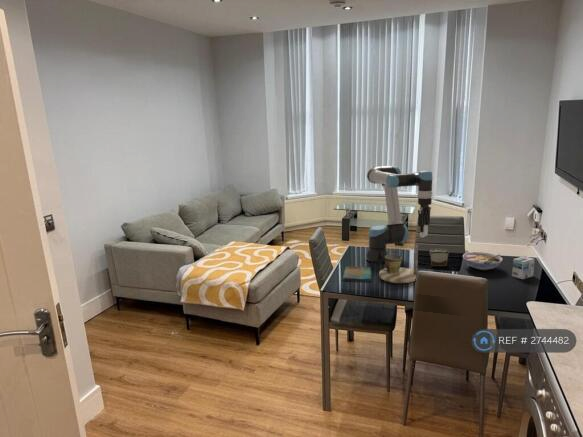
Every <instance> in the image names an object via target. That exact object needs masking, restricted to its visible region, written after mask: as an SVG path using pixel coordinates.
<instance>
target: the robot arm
mask: <svg viewBox="0 0 583 437" xmlns="http://www.w3.org/2000/svg"><path fill="white" fill-rule="evenodd" d="M366 179H367V181H369V183H371V184H381V187H382V188H383V189H384V197H385V205H386V212H387V213H386V214H387V222H388V223H386V225H383V224H381V225H373V226H371V227H370V228H369V229H368V249H367V253H366V259H367V260H368V262H369V261H371V262H370V263H373V262H375V264H381V263H382V262H384V263H385V256H386V255H389V253H388V251H387V245H395V244H402V243H405V242H407V240H408V237H409V228H408V227H407V226H406V225H405V224H404V222H403V221H402V217H401V209H400V202H399V200H400V199H399V193H398V188H402V187H414V186H415V187H417V188H418V190H417V192H418V193H417V197H418V198H417V204H418V205H420V207H419V209H418V210H417V214H418V217H417V220H418V221H417V222H418V226H417V227H419V237H420V238H425V237H427V236H429V235H428V234H429V226H430V224H431V210H432V207H431V206H430V205H432V202H433V201H432V198H433V197H432V195H433V190H432V189H433V171H431V170H421V171H418V172H410V173H402V172H401V170H400V168H399V166H396V165H384V166H374V167H372V168H370V169H369V170H368V171H367V174H366ZM367 260H366V261H367Z"/></svg>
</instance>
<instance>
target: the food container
mask: <svg viewBox="0 0 583 437" xmlns="http://www.w3.org/2000/svg"><path fill="white" fill-rule="evenodd" d="M428 253H429V255H430V263H431V265H430V266H431V267H435V266H436V267H437V266H438V267H447V263H448V258H449V255H450V251H449V250H448V249H445V248H431V249H430V250H429V252H428Z"/></svg>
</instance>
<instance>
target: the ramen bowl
mask: <svg viewBox="0 0 583 437" xmlns="http://www.w3.org/2000/svg"><path fill="white" fill-rule="evenodd" d="M462 258H463V260H464V262H465V263H466V264H467V265H468V266H470V267H472V268H474V269H476V270H478V269H479V271H487V270H492V269H495V268H496V267H499V265H500V264H501V263H502V261H503V257H501V255H500V253H499V254H496V253H495V254H494V253H490V252H483V251H471V252H470V251H469V252H466V253H464V254H463V255H462Z"/></svg>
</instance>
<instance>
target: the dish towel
mask: <svg viewBox="0 0 583 437" xmlns="http://www.w3.org/2000/svg"><path fill="white" fill-rule="evenodd" d="M342 281H344V282H366V283H370V282H372V267H371V266H345V268H344V272H343V276H342Z"/></svg>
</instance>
